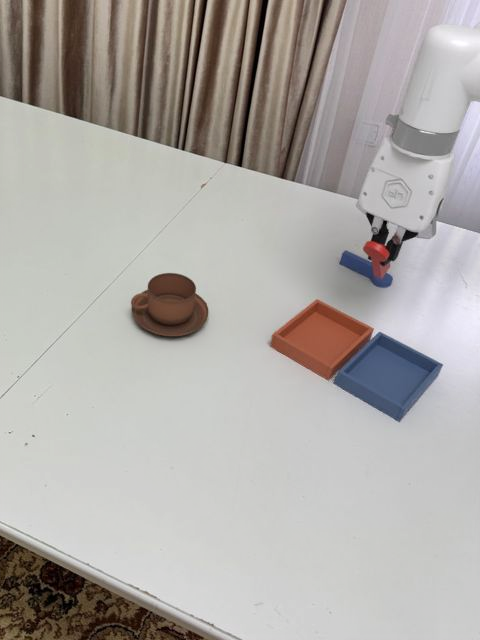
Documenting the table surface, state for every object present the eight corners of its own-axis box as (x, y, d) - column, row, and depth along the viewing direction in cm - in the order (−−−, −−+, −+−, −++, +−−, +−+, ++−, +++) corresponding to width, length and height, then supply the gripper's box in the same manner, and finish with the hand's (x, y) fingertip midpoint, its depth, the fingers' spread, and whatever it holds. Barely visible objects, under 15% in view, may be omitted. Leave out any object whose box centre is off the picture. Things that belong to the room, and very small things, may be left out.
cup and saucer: (156, 352, 92) (158, 320, 88) (118, 308, 99) (118, 276, 95) (222, 328, 97) (226, 297, 93) (181, 287, 104) (183, 257, 100)
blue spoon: (395, 281, 110) (399, 270, 108) (385, 290, 108) (389, 278, 106) (345, 258, 115) (349, 247, 113) (335, 266, 113) (339, 255, 111)
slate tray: (437, 376, 92) (443, 364, 90) (399, 422, 85) (405, 409, 83) (374, 343, 97) (379, 331, 95) (333, 383, 90) (337, 371, 88)
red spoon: (384, 254, 84) (394, 239, 84) (361, 243, 86) (371, 229, 86) (388, 282, 93) (397, 269, 93) (367, 272, 95) (376, 259, 95)
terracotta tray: (369, 340, 97) (374, 328, 96) (328, 380, 90) (332, 368, 88) (313, 310, 102) (316, 298, 100) (269, 346, 95) (272, 334, 93)
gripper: (354, 123, 79) (321, 246, 91) (471, 166, 72) (418, 293, 84) (382, 110, 84) (346, 229, 96) (495, 149, 76) (441, 272, 89)
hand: (380, 258), depth 90 cm, fingers closed on red spoon, 1 cm apart
